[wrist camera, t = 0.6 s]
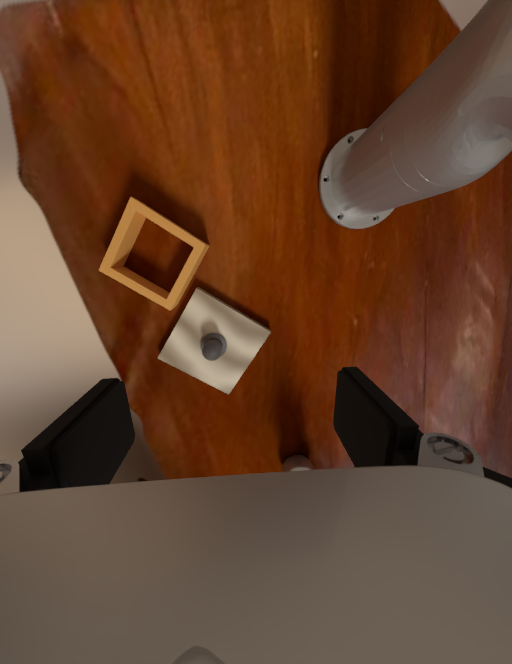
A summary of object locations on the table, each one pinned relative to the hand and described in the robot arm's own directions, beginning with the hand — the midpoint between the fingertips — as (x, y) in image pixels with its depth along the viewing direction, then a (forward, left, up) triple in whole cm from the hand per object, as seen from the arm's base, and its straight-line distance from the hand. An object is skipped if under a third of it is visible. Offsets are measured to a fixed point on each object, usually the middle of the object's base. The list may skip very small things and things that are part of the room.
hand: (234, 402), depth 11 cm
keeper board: (+10, +1, -31) cm, 32 cm away
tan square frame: (+2, -13, -31) cm, 34 cm away
